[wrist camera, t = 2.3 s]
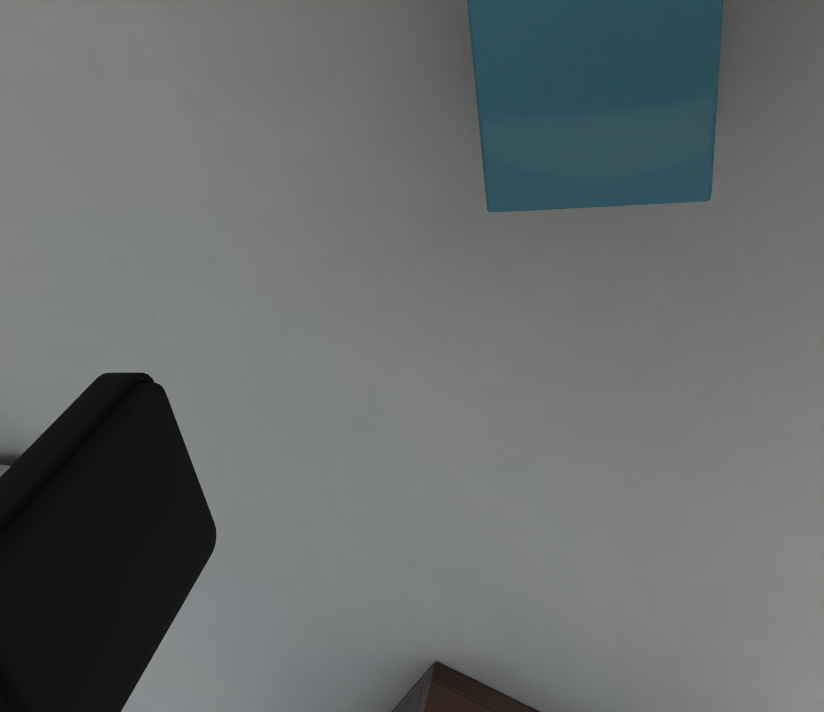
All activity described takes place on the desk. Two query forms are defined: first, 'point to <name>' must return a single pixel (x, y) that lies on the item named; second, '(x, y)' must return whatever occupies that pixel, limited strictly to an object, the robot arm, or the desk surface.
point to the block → (596, 101)
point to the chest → (455, 695)
